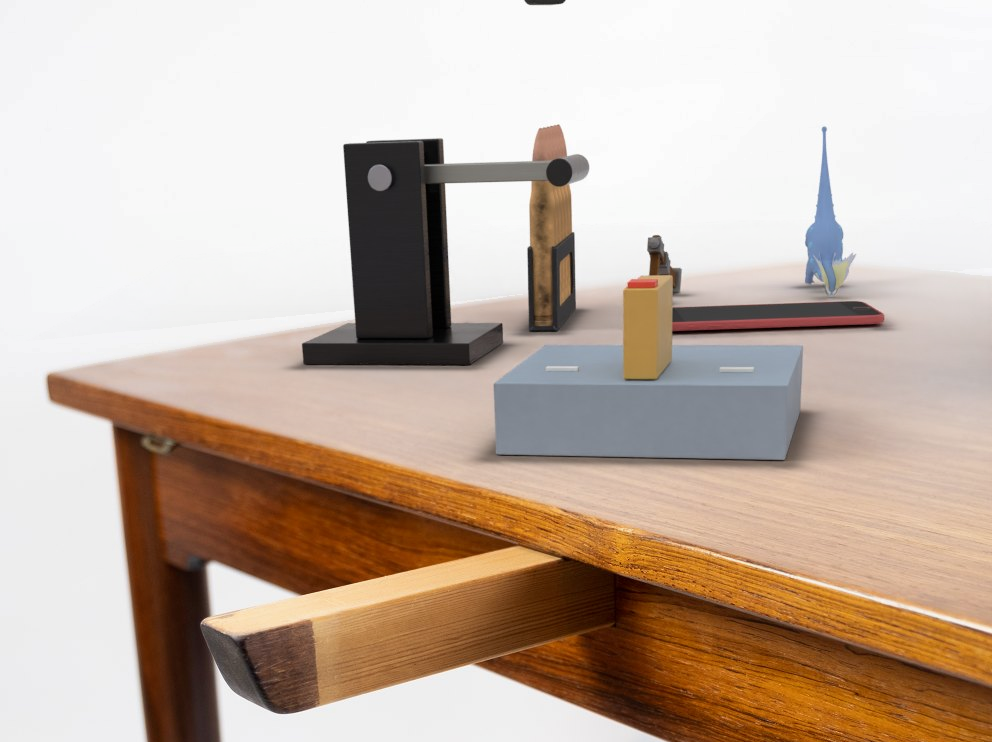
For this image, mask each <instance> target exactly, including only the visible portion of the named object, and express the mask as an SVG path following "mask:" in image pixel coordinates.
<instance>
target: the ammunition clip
mask: <svg viewBox="0 0 992 742" xmlns="http://www.w3.org/2000/svg"><path fill="white" fill-rule="evenodd" d="M566 156H568V151H567V144H566V139H565V135H564V132H563V129H562V127H561V125H560V124H554V125H550V126H546V127H539V128H538V130H537V132H536V135H535V139H534V143H533V149H532V156H531V157H532V159H531V161H552V160H554V159H557V158H562V157H566ZM570 185H571V184H568V185H565V186H561V187H557V186H554V185H552V184H551V183H550V182H549V181H531V185H530V186H531V187H530V188H531V189H530V191H531V192H530V197H529V204H528V205H529V208H528V209H529V211H528V212H529V213H528V214H529V246H528V247H527V248H526V251H527V252H526V253H527V257H526V258H527V291H528V292H527V301H528V303H527V304H528V306H527V307H528V332H556V331H559V330H560V329H561V327H562V326H563V325H564V324H565V322H566V321H567V320H568V319H569V318H570V316H571V315H572V314H573V313H574V312H575V310H576V309H577V301H576V299H577V298H576V297H577V296H576V291H577V290H576V241H575V240H576V239H575V237H576V236H575V235H576V234H575V232H574V231H573V213H572V212H573V210H572V208H573V207H572V190H571V186H570Z"/></svg>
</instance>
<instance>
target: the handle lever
mask: <svg viewBox="0 0 992 742" xmlns="http://www.w3.org/2000/svg"><path fill="white" fill-rule="evenodd" d="M424 167H425V184H440V183H445V184H473V183H474V184H475V183H477V184H478V183H511V182H532V181H549V182H550V183H551V184H552V185H554V186H557V187H561V186H565V185H568V184H569V185H571V184H575V183H577V182H580V181H583V180H584V179H586V178H587V176H588V174H589V172H590V163H589V161H588V159H587V158H586V156H584V155H582V154H579V153H575V154H570V155H567V156H566V157H562V158H557V159H554V160H552V161H532V160H527V161H523V160H522V161H494V162H493V161H491V162H490V161H489V162H457V163H455V162H454V163H444V164H424Z"/></svg>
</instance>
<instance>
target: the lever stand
mask: <svg viewBox="0 0 992 742" xmlns="http://www.w3.org/2000/svg"><path fill="white" fill-rule="evenodd" d="M342 148H343V165H344V177H345V180H344V181H345V192H346V194H345V195H346V208H347V221H348V236H349V237H348V238H349V250H350V251H349V252H350V267H351V280H352V281H351V283H352V296H353V297H352V298H353V309H354V322H348V323H345V324H343V325H341V326H338V327H336V328H334V329H332V330H331V329H330V330H329V331H327V332H325V333H323V334H320V335H318V336H316V337H313V338H311V339H308V340H307V341H304V342H302V343H301V350H302V362H303V363H302V364H303V365H373V366H374V365H375V366H376V365H377V366H378V365H387V366H388V365H389V366H391V365H392V366H393V365H398V366H399V365H401V366H403V365H406V366H407V365H410V366H413V365H414V366H415V365H416V366H471V364H473V363H474V362H476V361H478V360H479V359H481V358H482V357H484V356H485V355H487V354H489V352H491V351H492V350H494V349H496V348H497V347H499V346H500V345H501V344H503V343H504V327H503V326H504V324H503V322H452V310H451V309H452V307H451V290H450V289H451V287H450V286H451V285H450V284H451V283H450V266H449V265H450V264H449V262H450V261H449V241H448V239H449V238H448V219H447V218H448V217H447V198H446V196H447V195H446V194H447V193H446V183H440V184H425V167H424V164H445V152H444V139H443V138H442V137H438V138H437V137H436V138H412V139H410V138H409V139H407V138H406V139H379V140H378V139H377V140H367V141H365V142H350V143H343V146H342Z"/></svg>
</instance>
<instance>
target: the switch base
mask: <svg viewBox="0 0 992 742" xmlns="http://www.w3.org/2000/svg"><path fill="white" fill-rule="evenodd" d="M803 356H804V345H803V344H672V360H671V362H670V363H669V364H668V366H667V367H666V368H665V369H664V371H663V372H662V373H661V374H660V376H659V377H658V378H657V379H656V380H652V379H624V378H623V344H544V345H543V346H542V347H540V348H539V349H537V350H536V351H535V352H534V353H533V354H531V355H530V356H528V357H527V358H526V359H524V360H523V361H522V362H520V363H519V364H518V365H516V366H515V367H513V368H512V369H511V370H509V371H508V372H507V373H505V374H504V375H502V377H500V378H499V379H497V380H496V381H495V382H494V383H493V404H494V409H493V410H494V436H495V454H496V455H502V456H505V455H506V456H508V455H509V456H550V457H551V456H555V457H601V458H602V457H603V458H604V457H605V458H607V457H608V458H609V457H611V458H651V459H652V458H654V459H655V458H658V459H706V460H707V459H709V460H756V461H757V460H761V461H762V460H763V461H785V460H786V457H787V454H788V451H789V448H790V445H791V442H792V439H793V435H794V433H795V429H796V426H797V423H798V420H799V416H800V414H801V407H802V405H801V404H802V385H803V383H802V382H803V362H804V361H803V360H804V357H803Z"/></svg>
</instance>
